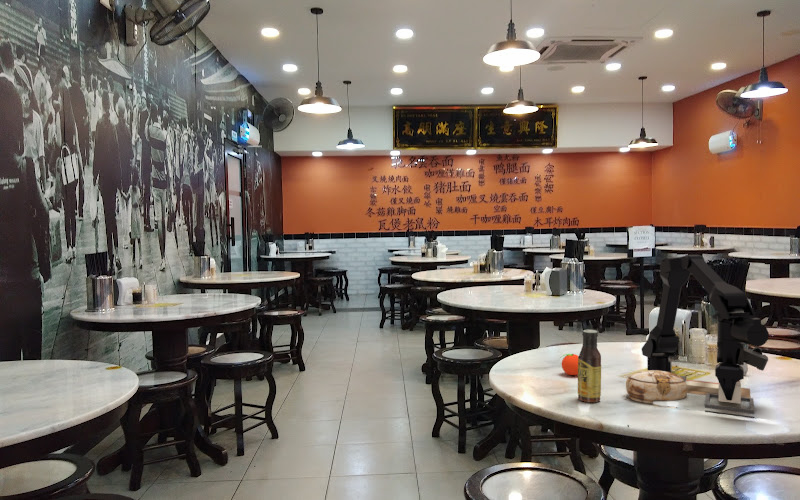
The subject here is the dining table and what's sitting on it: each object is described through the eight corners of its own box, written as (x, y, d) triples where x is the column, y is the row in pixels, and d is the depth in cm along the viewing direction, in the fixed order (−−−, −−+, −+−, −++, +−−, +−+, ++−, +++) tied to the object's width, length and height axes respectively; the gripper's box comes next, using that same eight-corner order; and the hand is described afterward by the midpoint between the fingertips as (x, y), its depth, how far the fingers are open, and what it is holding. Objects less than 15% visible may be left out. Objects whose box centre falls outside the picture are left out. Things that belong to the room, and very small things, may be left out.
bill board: (676, 395, 162) (676, 383, 162) (680, 384, 173) (680, 373, 173) (750, 404, 153) (751, 392, 153) (749, 392, 164) (749, 380, 163)
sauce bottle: (574, 397, 163) (573, 328, 162) (595, 396, 164) (594, 327, 163) (583, 404, 157) (583, 333, 156) (605, 403, 157) (605, 332, 156)
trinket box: (618, 397, 163) (618, 370, 162) (652, 388, 170) (652, 362, 170) (660, 410, 151) (660, 381, 151) (694, 400, 158) (695, 372, 158)
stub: (718, 401, 149) (718, 383, 149) (719, 394, 154) (719, 377, 154) (740, 403, 147) (740, 386, 146) (740, 397, 152) (740, 380, 152)
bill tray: (704, 411, 149) (704, 404, 149) (706, 399, 158) (706, 392, 158) (754, 418, 143) (754, 410, 143) (753, 405, 153) (753, 398, 152)
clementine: (557, 376, 185) (556, 355, 184) (559, 371, 191) (559, 350, 191) (582, 379, 182) (582, 356, 181) (584, 373, 188) (584, 352, 188)
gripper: (767, 348, 138) (767, 412, 138) (764, 334, 154) (763, 391, 154) (715, 344, 143) (714, 405, 144) (717, 331, 159) (716, 386, 160)
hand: (729, 396), depth 151 cm, fingers closed on stub, 6 cm apart
